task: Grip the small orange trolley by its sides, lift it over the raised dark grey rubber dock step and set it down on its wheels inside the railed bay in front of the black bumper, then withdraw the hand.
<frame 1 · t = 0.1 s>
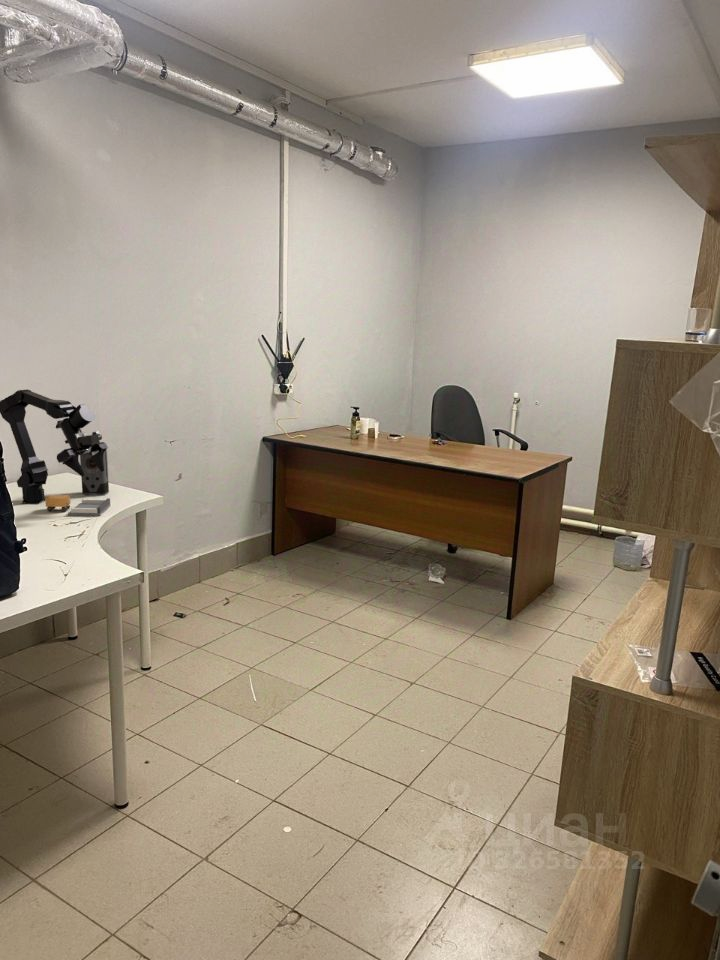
hand: (93, 473, 241), 15 cm above the table, tool tilted 30°, fingers open, 9 cm apart
electronic device: (95, 494, 271), on the table
trolley: (58, 510, 248), on the table
dock: (89, 510, 248), on the table
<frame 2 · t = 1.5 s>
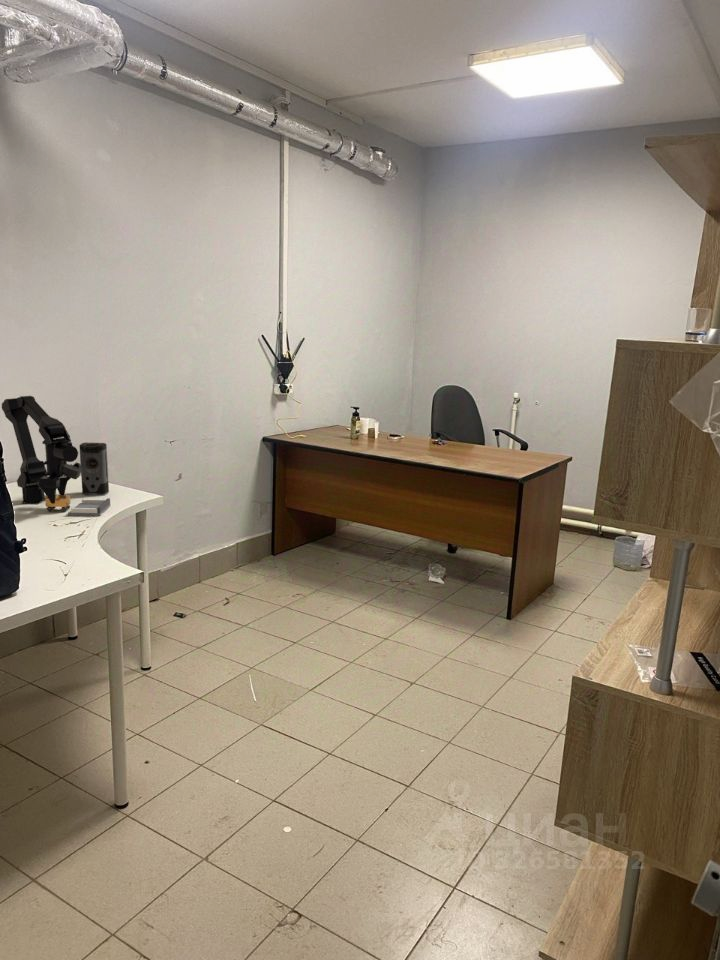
hand: (57, 500, 247), 4 cm above the table, tool pointing down, fingers open, 9 cm apart
nothing on the table moved.
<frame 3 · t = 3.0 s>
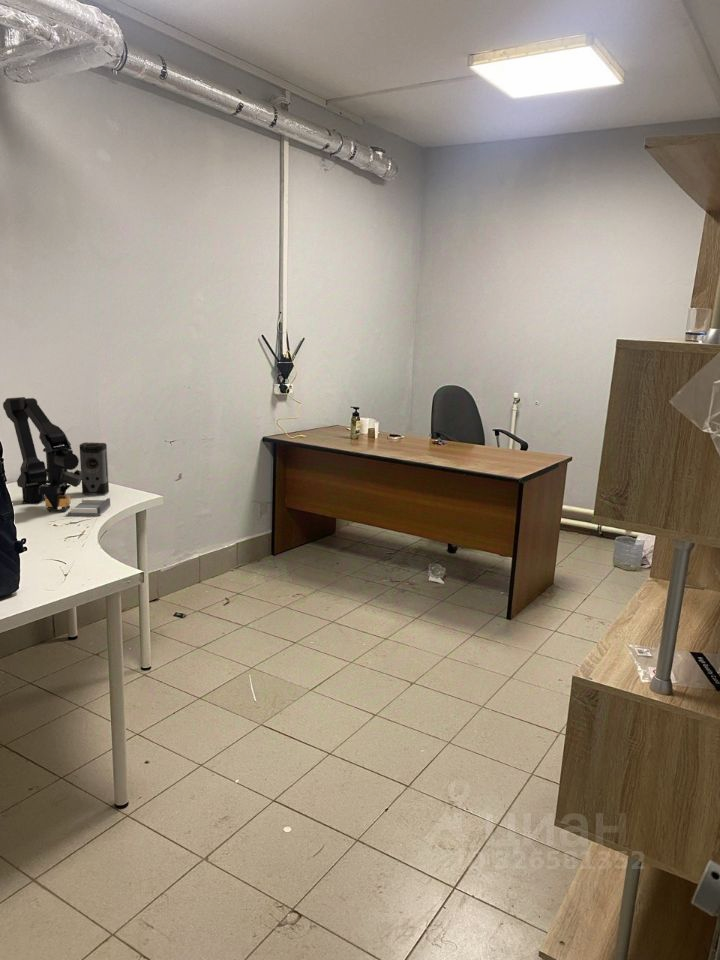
hand: (58, 507, 247), 1 cm above the table, tool pointing down, fingers closed on trolley, 5 cm apart
trolley: (58, 510, 248), on the table, touching gripper
everything else where it was.
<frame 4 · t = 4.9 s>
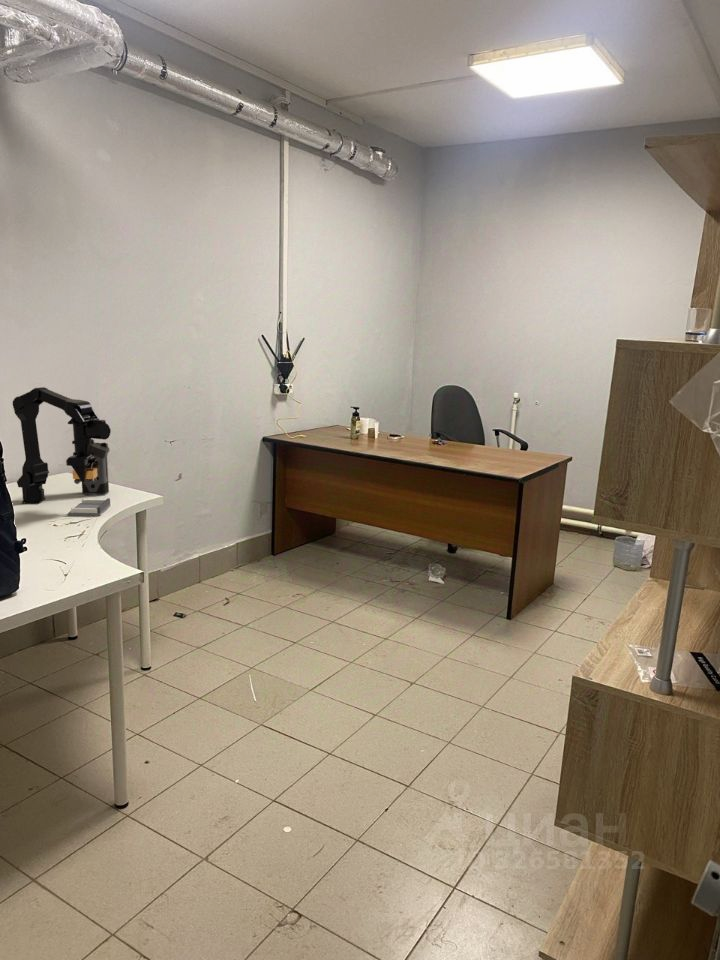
hand: (85, 480, 245), 11 cm above the table, tool pointing down, fingers closed on trolley, 5 cm apart
trolley: (85, 482, 246), point 10 cm above the table, touching gripper
everything else where it was.
when the fingers open (3 cm above the table, at t = 7.2 s): trolley drops 1 cm, resting on dock.
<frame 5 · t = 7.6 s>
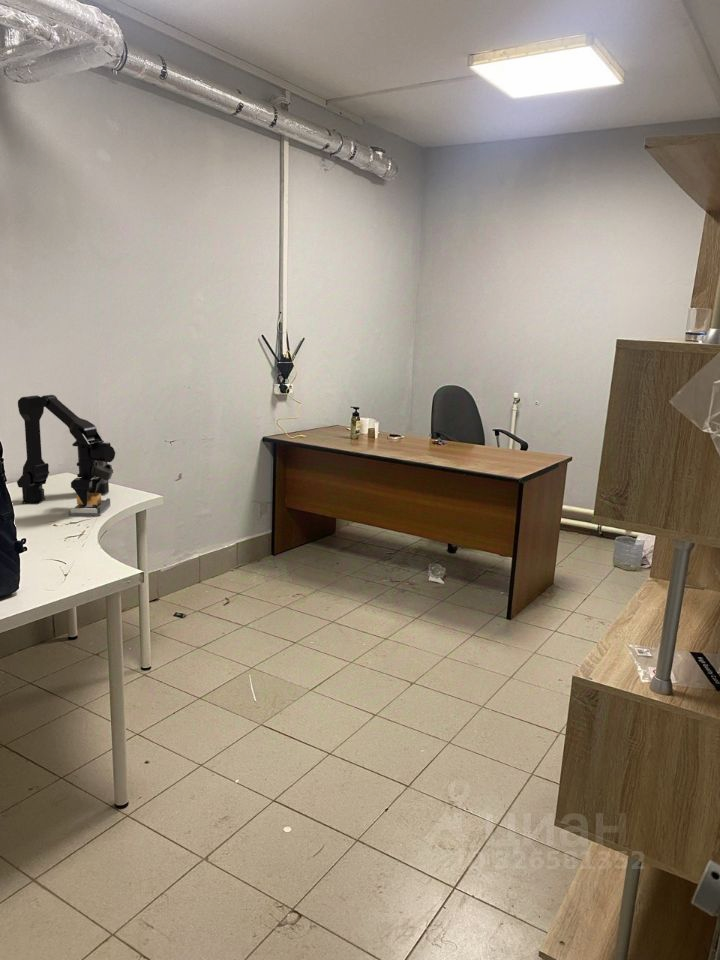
hand: (89, 501, 248), 3 cm above the table, tool pointing down, fingers open, 9 cm apart
trolley: (89, 508, 248), point 1 cm above the table, touching dock
everything else where it was.
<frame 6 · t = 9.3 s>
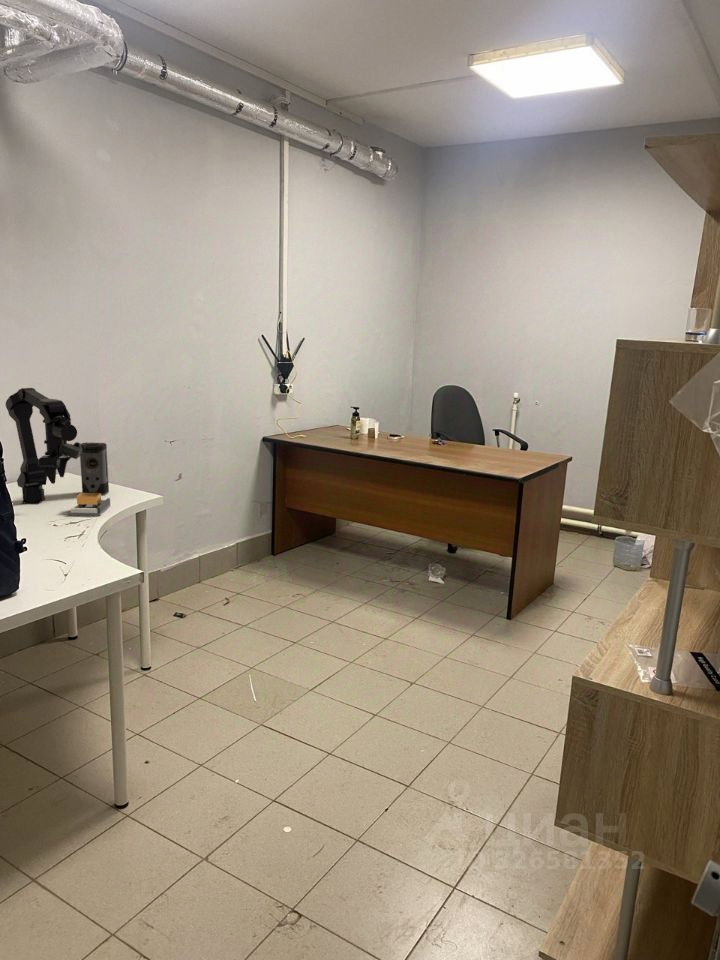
hand: (57, 480, 242), 12 cm above the table, tool pointing down, fingers open, 9 cm apart
nothing on the table moved.
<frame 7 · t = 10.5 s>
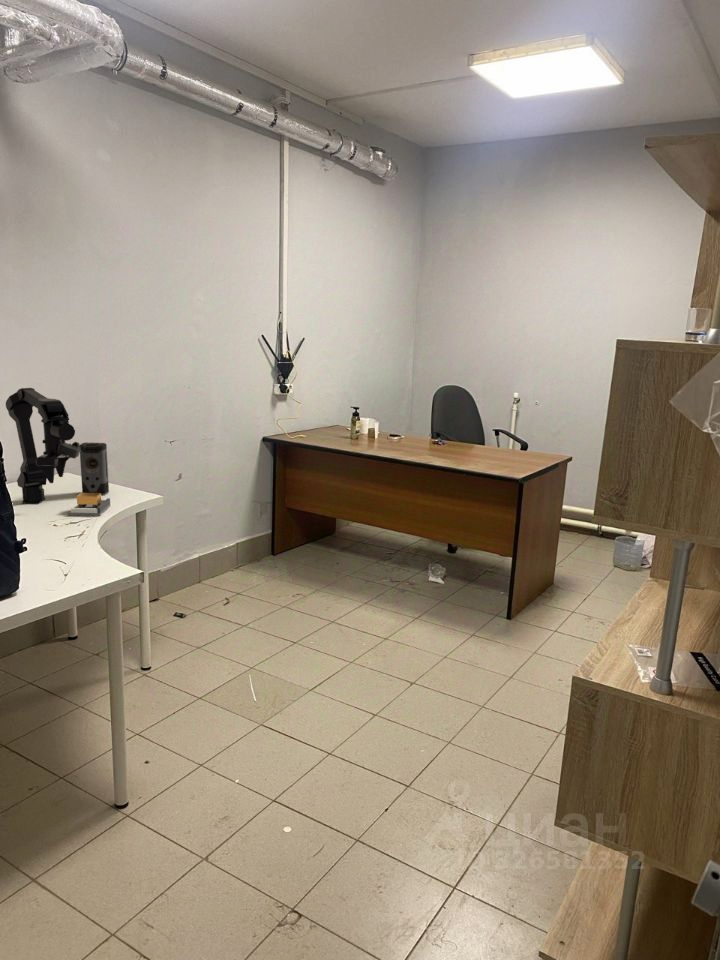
hand: (56, 480, 242), 12 cm above the table, tool pointing down, fingers open, 9 cm apart
nothing on the table moved.
at the end: trolley 0.0 cm from the target spot, point 1.0 cm above the table; trolley tilted 0°; the gripper is holding nothing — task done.
